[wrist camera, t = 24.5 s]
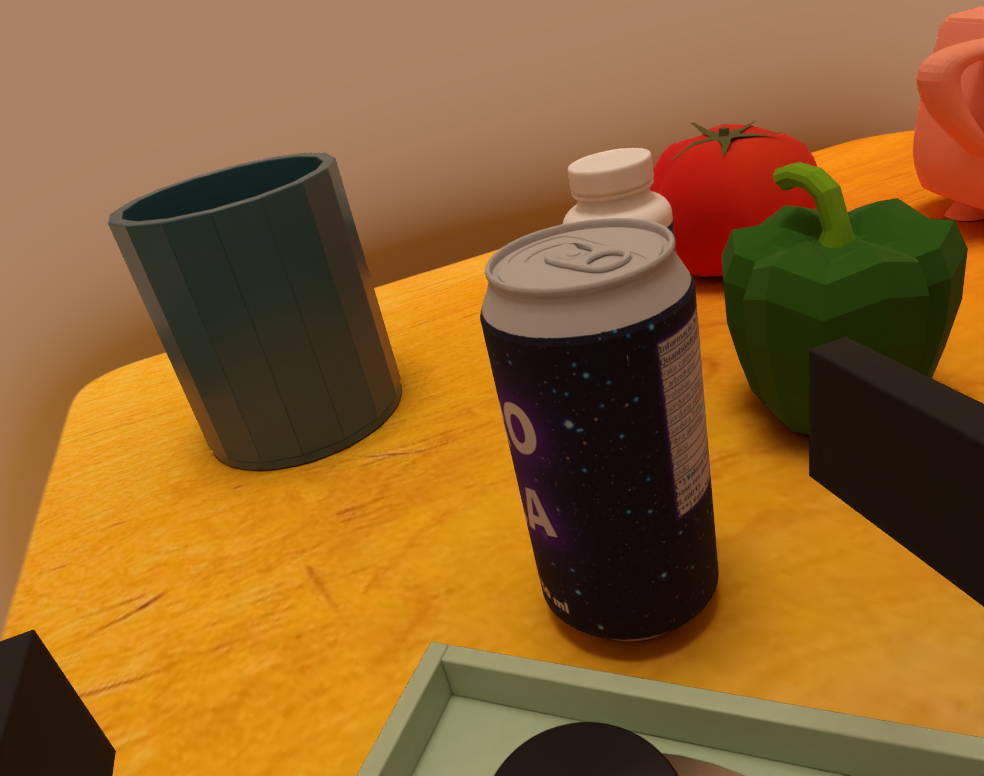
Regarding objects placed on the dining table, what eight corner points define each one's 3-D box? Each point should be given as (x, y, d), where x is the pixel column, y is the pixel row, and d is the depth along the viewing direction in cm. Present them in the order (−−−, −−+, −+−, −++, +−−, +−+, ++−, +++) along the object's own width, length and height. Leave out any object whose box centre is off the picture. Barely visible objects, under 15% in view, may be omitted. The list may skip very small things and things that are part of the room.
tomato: (678, 238, 53) (667, 113, 49) (838, 237, 48) (840, 96, 44) (626, 294, 47) (608, 155, 43) (804, 300, 41) (803, 142, 37)
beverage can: (622, 515, 29) (575, 205, 23) (756, 581, 25) (738, 223, 19) (511, 603, 26) (427, 274, 21) (641, 694, 22) (580, 313, 16)
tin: (170, 464, 40) (57, 232, 34) (286, 365, 48) (211, 165, 42) (337, 477, 35) (241, 214, 30) (433, 366, 43) (372, 142, 38)
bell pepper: (1000, 435, 29) (1035, 167, 24) (782, 484, 29) (774, 226, 24) (878, 343, 36) (886, 124, 31) (706, 382, 36) (688, 170, 31)
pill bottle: (690, 317, 42) (674, 137, 38) (678, 364, 38) (658, 168, 33) (594, 321, 44) (567, 151, 40) (572, 367, 40) (540, 182, 35)
